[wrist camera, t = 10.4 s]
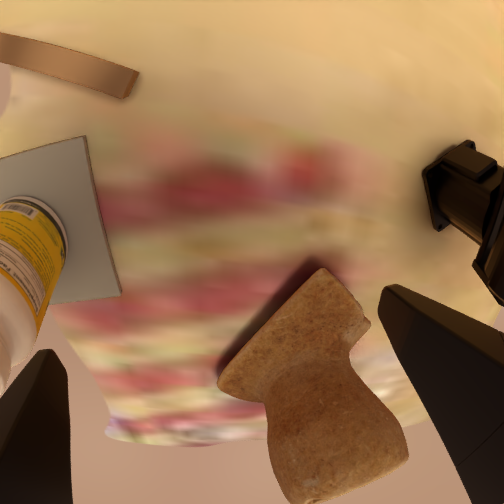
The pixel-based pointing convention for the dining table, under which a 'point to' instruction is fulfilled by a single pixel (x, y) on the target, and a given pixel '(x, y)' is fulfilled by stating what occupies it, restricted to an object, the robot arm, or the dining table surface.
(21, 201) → the pill bottle
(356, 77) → the dining table surface
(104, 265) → the coaster
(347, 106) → the dining table surface
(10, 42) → the open wooden u-frame
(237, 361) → the brown boot
